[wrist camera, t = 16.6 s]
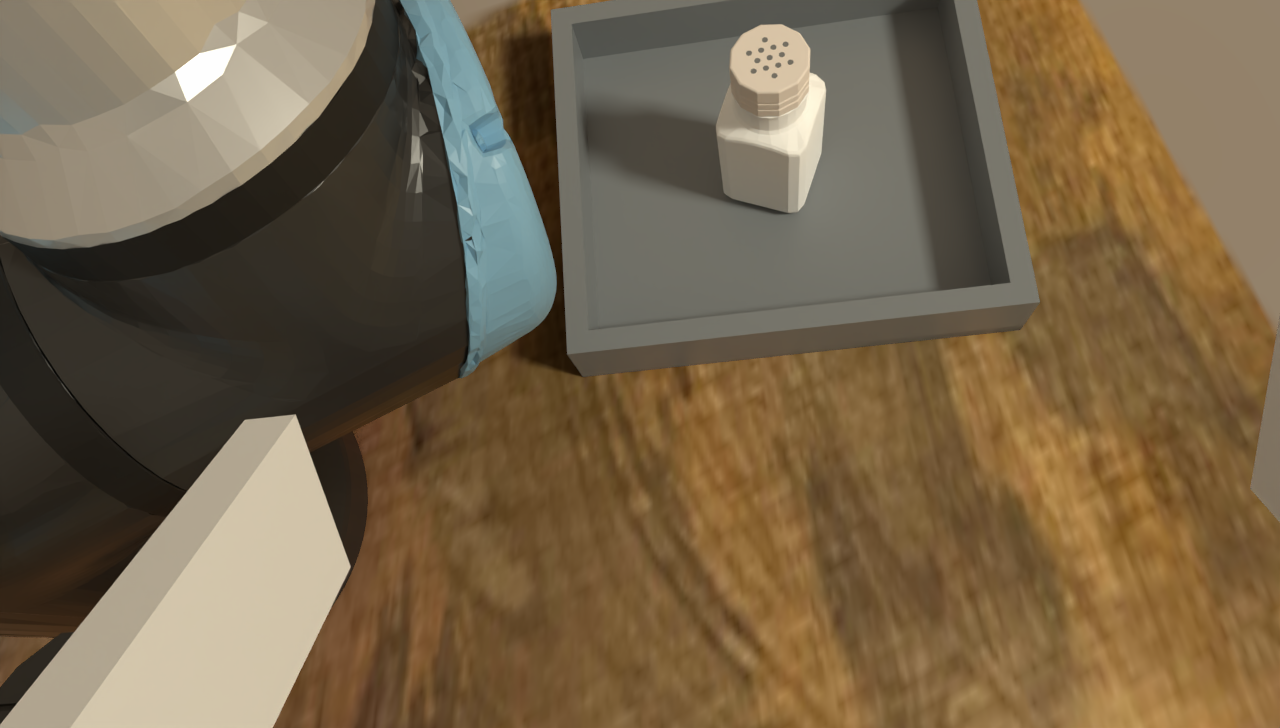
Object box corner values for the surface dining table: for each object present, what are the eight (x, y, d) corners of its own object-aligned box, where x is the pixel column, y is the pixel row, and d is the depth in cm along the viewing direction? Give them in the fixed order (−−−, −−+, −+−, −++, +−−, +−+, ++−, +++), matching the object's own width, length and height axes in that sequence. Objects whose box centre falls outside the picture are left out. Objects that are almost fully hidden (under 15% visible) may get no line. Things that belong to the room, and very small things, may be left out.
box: (582, 376, 46) (567, 354, 42) (566, 52, 51) (550, 9, 48) (1020, 329, 43) (1040, 302, 40) (953, -5, 49) (965, -54, 45)
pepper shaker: (824, 148, 47) (834, 25, 38) (800, 221, 46) (804, 112, 37) (745, 129, 47) (736, 5, 38) (719, 200, 47) (704, 90, 38)
